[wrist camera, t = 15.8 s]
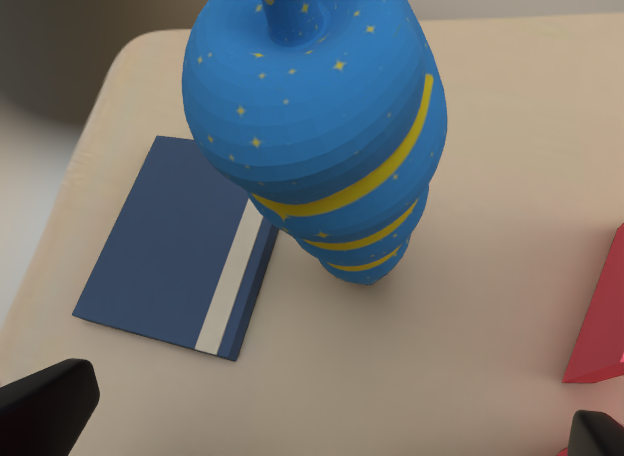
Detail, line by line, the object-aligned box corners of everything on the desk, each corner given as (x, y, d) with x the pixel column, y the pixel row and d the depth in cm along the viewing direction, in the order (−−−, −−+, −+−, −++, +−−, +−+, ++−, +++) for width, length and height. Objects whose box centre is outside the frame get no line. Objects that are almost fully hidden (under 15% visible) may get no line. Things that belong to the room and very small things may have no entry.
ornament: (361, 361, 18) (215, 132, 4) (284, 273, 20) (32, -54, 7) (453, 276, 18) (568, -145, 5) (368, 200, 21) (294, -229, 7)
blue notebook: (236, 361, 19) (226, 357, 18) (85, 320, 21) (69, 314, 20) (300, 163, 22) (295, 150, 21) (165, 145, 25) (155, 133, 24)
